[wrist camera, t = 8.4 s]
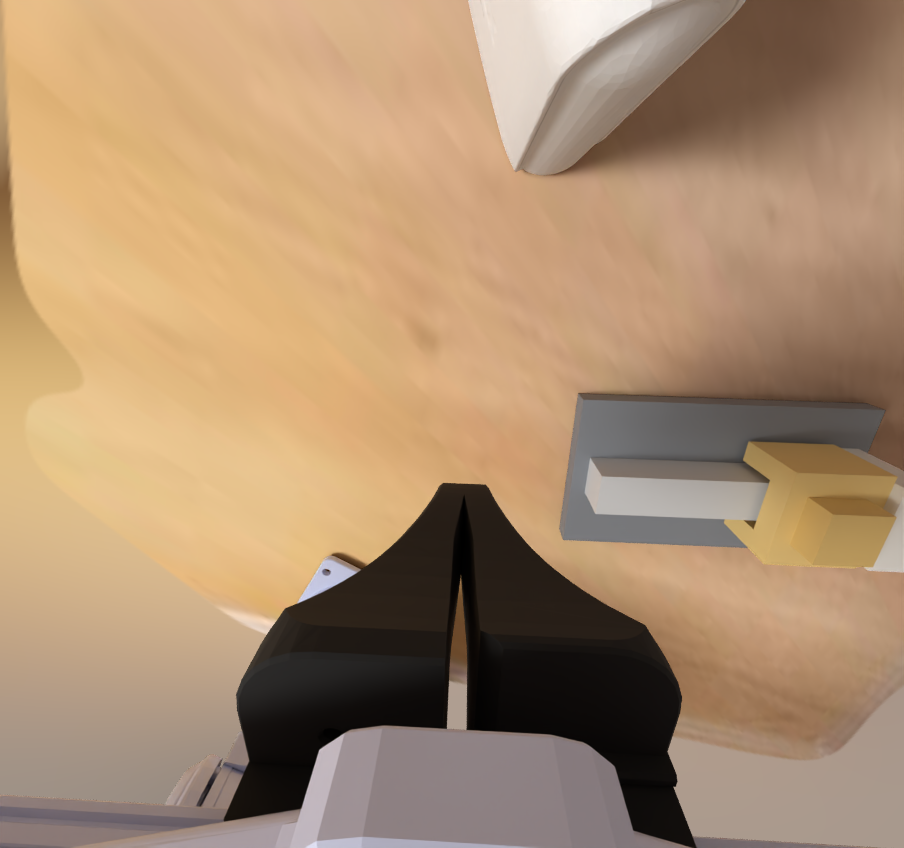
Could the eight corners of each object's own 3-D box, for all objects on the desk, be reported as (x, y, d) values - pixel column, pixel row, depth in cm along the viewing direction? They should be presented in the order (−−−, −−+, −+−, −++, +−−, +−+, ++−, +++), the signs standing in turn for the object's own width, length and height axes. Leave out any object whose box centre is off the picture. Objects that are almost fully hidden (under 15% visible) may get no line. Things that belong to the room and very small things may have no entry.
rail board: (559, 529, 24) (581, 594, 19) (578, 393, 21) (609, 431, 16) (812, 539, 24) (896, 608, 19) (866, 403, 21) (983, 445, 16)
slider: (723, 522, 22) (784, 585, 18) (748, 441, 20) (821, 488, 16) (802, 526, 22) (882, 589, 18) (834, 444, 20) (930, 493, 16)
